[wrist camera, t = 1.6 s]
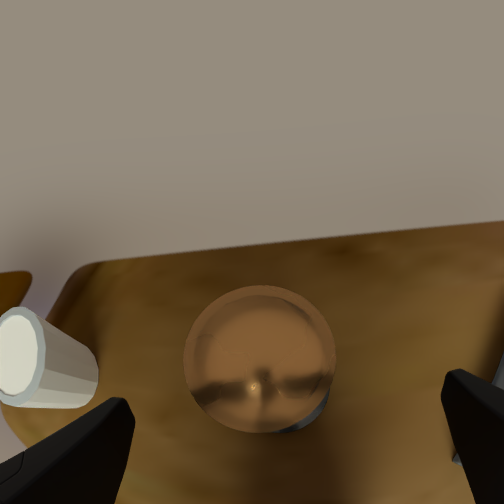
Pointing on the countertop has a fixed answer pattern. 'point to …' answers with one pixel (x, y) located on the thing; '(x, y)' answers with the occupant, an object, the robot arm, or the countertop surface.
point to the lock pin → (260, 360)
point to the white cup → (43, 364)
